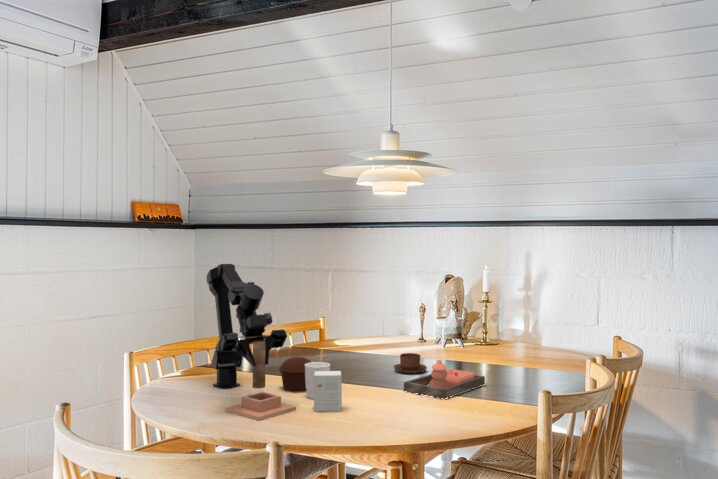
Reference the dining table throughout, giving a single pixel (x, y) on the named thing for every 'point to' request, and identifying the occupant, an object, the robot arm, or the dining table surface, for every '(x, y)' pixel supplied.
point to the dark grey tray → (421, 388)
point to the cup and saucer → (410, 364)
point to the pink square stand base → (260, 406)
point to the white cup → (309, 375)
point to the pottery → (448, 376)
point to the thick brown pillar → (259, 364)
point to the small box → (327, 391)
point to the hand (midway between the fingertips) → (260, 364)
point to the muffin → (294, 374)
